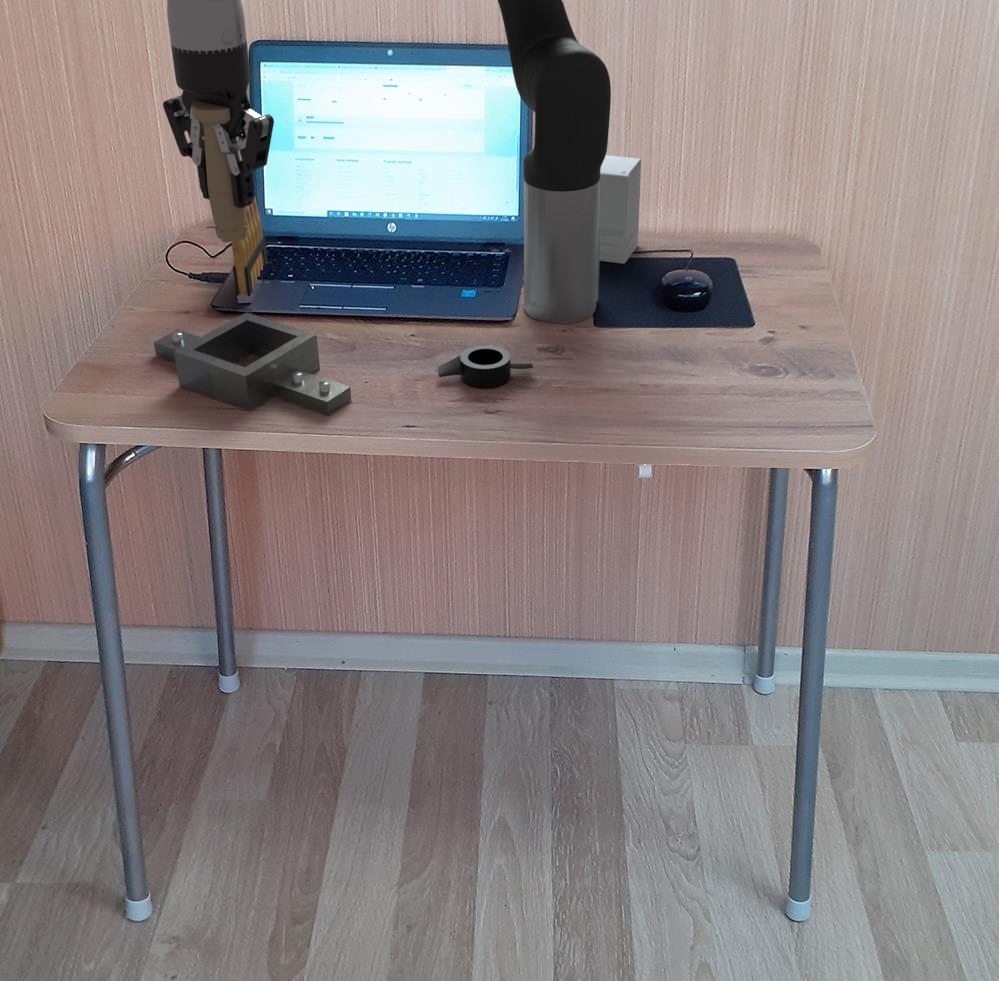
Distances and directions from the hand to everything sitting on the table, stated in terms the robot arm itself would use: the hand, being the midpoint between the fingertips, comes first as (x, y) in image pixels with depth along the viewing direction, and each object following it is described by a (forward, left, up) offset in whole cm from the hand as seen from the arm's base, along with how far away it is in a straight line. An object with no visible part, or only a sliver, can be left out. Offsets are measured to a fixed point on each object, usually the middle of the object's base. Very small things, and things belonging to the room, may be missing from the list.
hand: (228, 200), depth 140 cm
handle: (0, 0, -4) cm, 4 cm away
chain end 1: (0, -7, -22) cm, 23 cm away
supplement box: (-54, +17, -22) cm, 61 cm away
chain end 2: (0, +6, -22) cm, 23 cm away
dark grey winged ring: (-15, +23, -22) cm, 35 cm away
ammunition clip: (-19, -17, -22) cm, 34 cm away
